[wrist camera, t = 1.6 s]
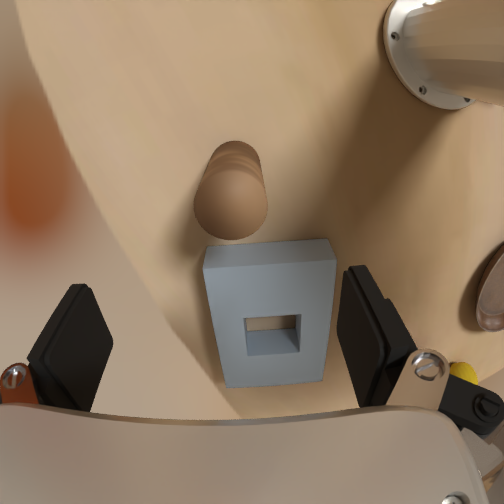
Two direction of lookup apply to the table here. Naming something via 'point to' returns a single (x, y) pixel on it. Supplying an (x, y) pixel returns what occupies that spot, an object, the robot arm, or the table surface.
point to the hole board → (271, 309)
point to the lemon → (464, 372)
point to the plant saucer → (492, 295)
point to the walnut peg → (232, 193)
